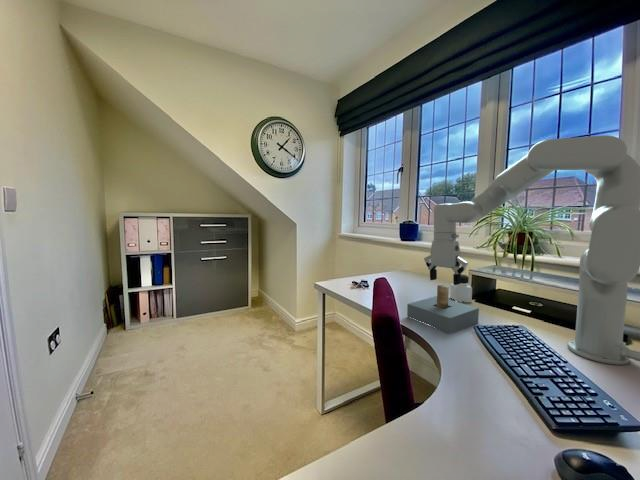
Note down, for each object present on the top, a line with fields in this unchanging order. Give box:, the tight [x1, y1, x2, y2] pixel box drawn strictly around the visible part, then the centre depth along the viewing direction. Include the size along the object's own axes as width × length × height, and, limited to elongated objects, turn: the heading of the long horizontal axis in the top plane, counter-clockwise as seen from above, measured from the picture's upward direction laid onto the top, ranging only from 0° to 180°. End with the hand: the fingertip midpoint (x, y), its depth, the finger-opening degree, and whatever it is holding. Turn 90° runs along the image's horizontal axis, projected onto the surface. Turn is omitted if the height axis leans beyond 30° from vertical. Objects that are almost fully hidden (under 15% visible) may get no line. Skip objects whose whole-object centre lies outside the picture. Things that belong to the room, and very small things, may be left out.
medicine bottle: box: [449, 273, 473, 303], centre depth 129 cm, size 7×7×12 cm
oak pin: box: [436, 284, 450, 309], centre depth 105 cm, size 4×4×12 cm
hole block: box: [406, 295, 480, 335], centre depth 106 cm, size 18×18×6 cm
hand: (444, 281), depth 104 cm, fingers open, 9 cm apart
